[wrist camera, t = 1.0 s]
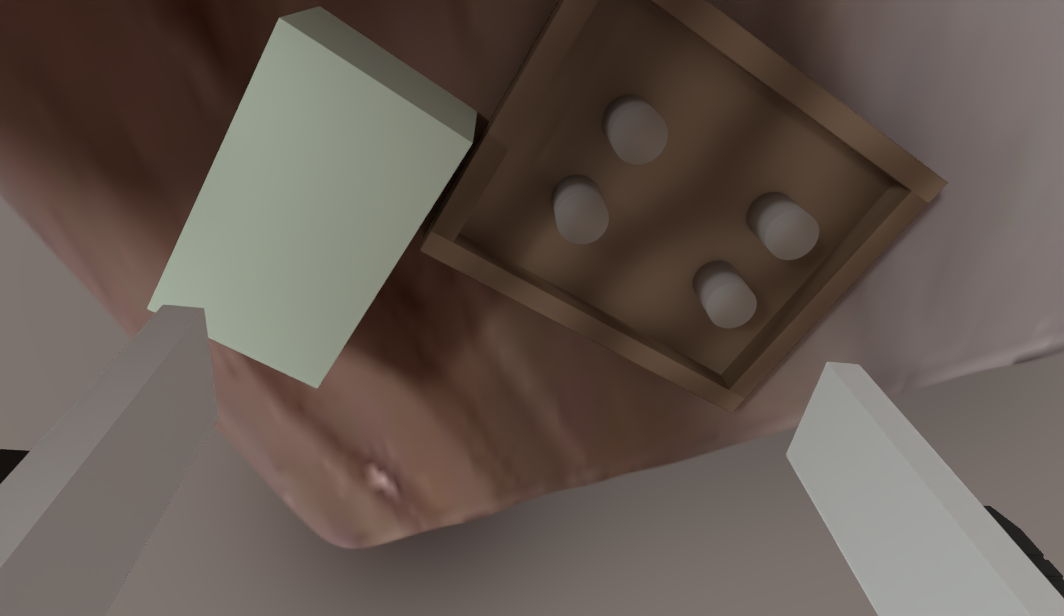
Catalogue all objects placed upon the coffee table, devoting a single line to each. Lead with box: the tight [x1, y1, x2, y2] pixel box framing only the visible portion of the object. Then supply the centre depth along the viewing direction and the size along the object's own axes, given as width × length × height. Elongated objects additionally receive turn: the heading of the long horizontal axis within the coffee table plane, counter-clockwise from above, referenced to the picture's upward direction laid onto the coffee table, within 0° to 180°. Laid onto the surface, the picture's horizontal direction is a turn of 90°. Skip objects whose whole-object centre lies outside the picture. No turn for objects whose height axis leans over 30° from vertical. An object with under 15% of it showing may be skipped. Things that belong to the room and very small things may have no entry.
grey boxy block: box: [147, 6, 477, 388], centre depth 29 cm, size 14×8×6 cm, turn 146°
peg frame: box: [420, 0, 948, 413], centre depth 31 cm, size 20×16×4 cm
